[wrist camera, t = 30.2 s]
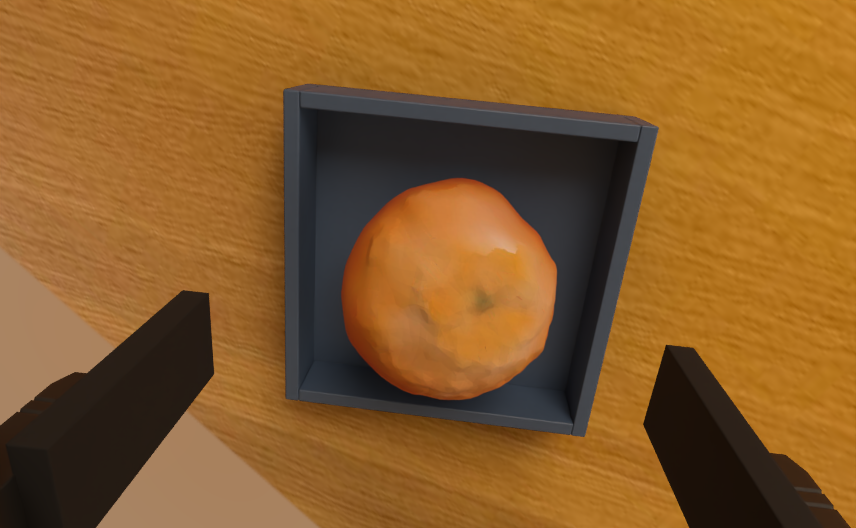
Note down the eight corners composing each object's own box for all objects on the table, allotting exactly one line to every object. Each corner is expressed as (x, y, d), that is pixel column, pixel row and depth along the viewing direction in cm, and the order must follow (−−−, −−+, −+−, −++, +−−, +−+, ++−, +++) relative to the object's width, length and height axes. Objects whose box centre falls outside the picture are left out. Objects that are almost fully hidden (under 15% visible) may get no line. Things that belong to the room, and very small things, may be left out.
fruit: (278, 258, 23) (311, 276, 16) (424, 156, 25) (514, 130, 18) (384, 401, 25) (457, 476, 18) (510, 297, 27) (622, 325, 20)
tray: (304, 363, 27) (285, 399, 25) (306, 83, 22) (282, 88, 20) (573, 396, 27) (584, 437, 24) (636, 116, 22) (659, 126, 19)
